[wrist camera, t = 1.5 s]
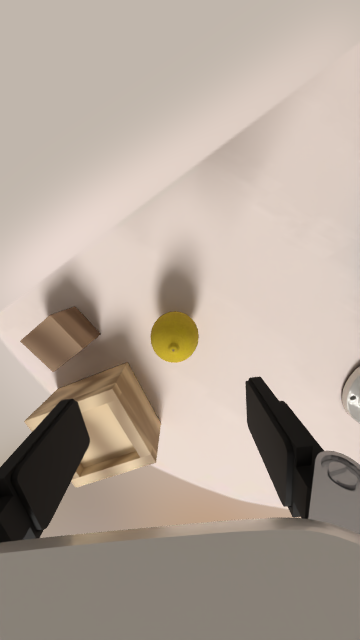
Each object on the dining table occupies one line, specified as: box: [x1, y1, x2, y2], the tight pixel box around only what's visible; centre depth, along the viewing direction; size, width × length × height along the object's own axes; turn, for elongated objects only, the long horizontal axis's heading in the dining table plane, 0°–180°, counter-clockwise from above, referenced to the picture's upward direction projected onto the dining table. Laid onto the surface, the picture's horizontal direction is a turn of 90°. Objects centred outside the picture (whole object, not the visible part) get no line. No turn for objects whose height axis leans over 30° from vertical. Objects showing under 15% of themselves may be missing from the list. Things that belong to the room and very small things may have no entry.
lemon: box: [151, 311, 199, 362], centre depth 21 cm, size 6×6×8 cm
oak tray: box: [24, 362, 161, 487], centre depth 26 cm, size 12×12×6 cm
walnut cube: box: [20, 307, 101, 372], centre depth 23 cm, size 5×5×5 cm
